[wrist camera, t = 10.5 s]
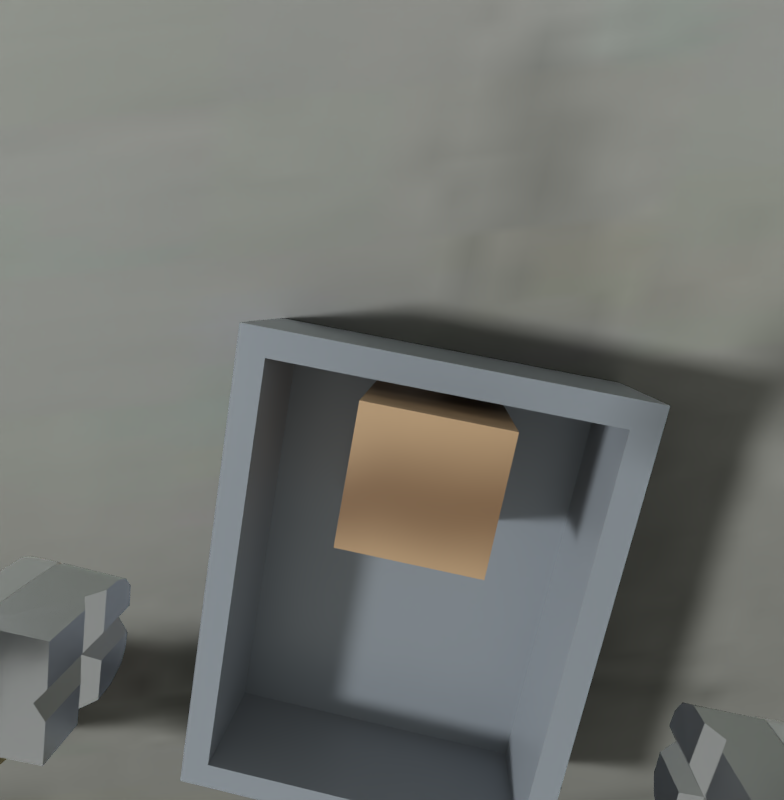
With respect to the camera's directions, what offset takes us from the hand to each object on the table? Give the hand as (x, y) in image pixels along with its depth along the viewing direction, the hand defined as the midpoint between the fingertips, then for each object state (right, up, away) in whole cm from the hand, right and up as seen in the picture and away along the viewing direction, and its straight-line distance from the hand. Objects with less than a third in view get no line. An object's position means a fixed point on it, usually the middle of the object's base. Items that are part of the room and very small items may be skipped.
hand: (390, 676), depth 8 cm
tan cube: (+2, +2, +14) cm, 14 cm away
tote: (+1, -3, +16) cm, 16 cm away
